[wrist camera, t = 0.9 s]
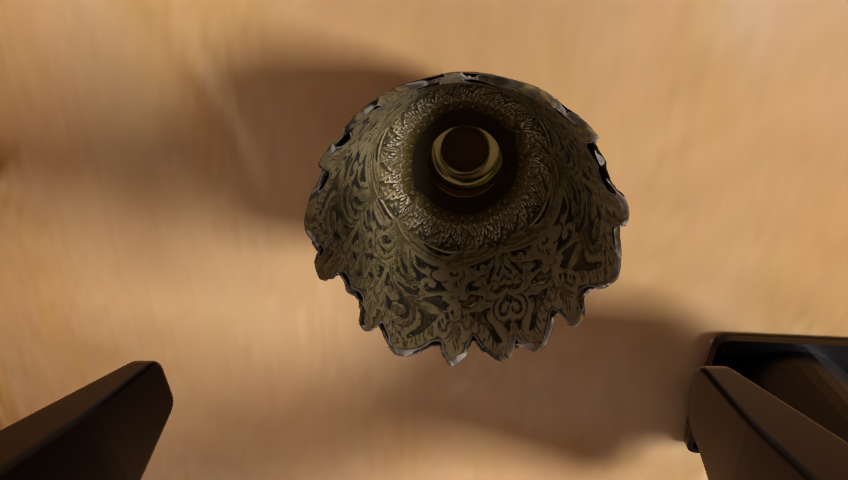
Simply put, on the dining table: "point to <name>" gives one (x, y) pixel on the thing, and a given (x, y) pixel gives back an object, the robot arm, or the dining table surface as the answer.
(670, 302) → the dining table surface
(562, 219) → the cup
